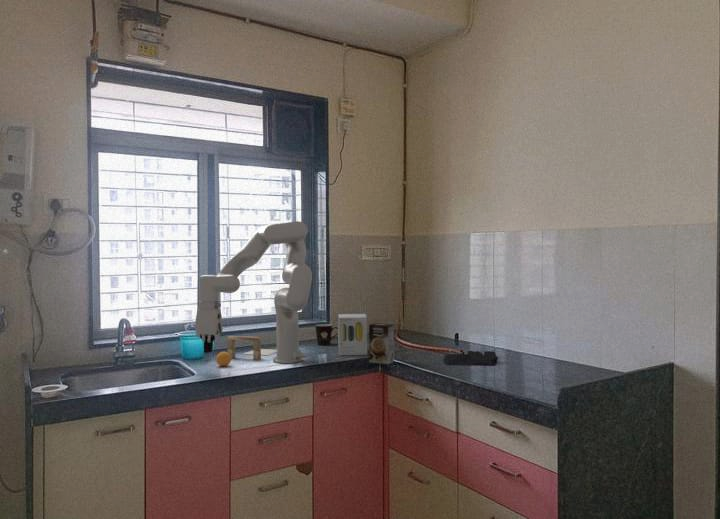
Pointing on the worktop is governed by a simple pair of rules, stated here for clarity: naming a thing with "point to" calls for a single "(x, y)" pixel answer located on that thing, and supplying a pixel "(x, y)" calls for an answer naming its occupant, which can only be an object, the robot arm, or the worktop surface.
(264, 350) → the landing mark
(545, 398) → the worktop surface
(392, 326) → the coffee box
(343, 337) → the supplement box
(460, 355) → the dark slate chunk
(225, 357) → the ball
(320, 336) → the coffee mug
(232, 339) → the bridge
